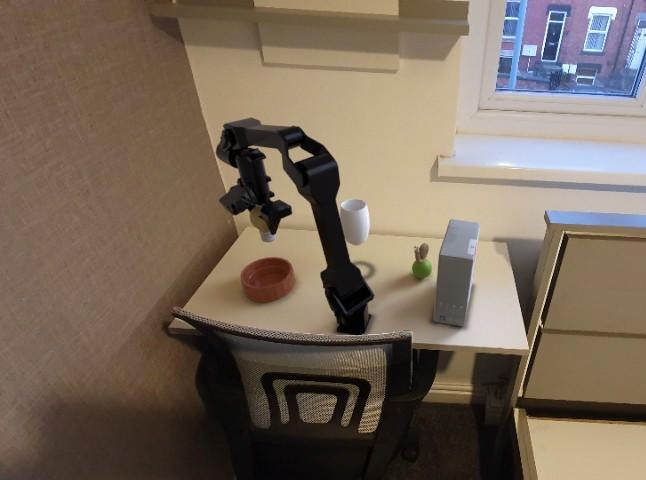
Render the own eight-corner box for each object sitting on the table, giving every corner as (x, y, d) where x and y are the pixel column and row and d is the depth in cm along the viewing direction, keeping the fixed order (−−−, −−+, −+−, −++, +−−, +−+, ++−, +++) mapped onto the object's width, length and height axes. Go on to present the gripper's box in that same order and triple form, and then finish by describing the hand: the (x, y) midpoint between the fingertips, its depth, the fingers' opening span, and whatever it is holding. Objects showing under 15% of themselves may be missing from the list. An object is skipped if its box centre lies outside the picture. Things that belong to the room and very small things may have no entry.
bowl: (303, 275, 106) (300, 260, 103) (281, 306, 96) (278, 291, 93) (260, 268, 107) (256, 254, 104) (235, 299, 97) (230, 284, 94)
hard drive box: (464, 328, 93) (473, 261, 81) (432, 322, 94) (436, 255, 82) (472, 285, 105) (480, 222, 94) (444, 280, 106) (449, 217, 95)
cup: (340, 275, 106) (333, 209, 94) (353, 260, 112) (347, 195, 100) (365, 281, 104) (360, 214, 93) (376, 265, 110) (373, 200, 98)
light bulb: (271, 249, 100) (263, 215, 94) (250, 243, 101) (241, 209, 96) (287, 235, 105) (280, 202, 99) (267, 231, 106) (259, 198, 101)
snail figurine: (406, 280, 106) (406, 243, 99) (417, 267, 110) (418, 231, 103) (423, 287, 104) (425, 250, 97) (435, 273, 108) (437, 237, 102)
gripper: (199, 172, 92) (217, 229, 101) (241, 199, 82) (257, 259, 91) (244, 159, 99) (258, 212, 108) (287, 182, 89) (298, 238, 98)
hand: (266, 230), depth 101 cm, fingers closed on light bulb, 6 cm apart
